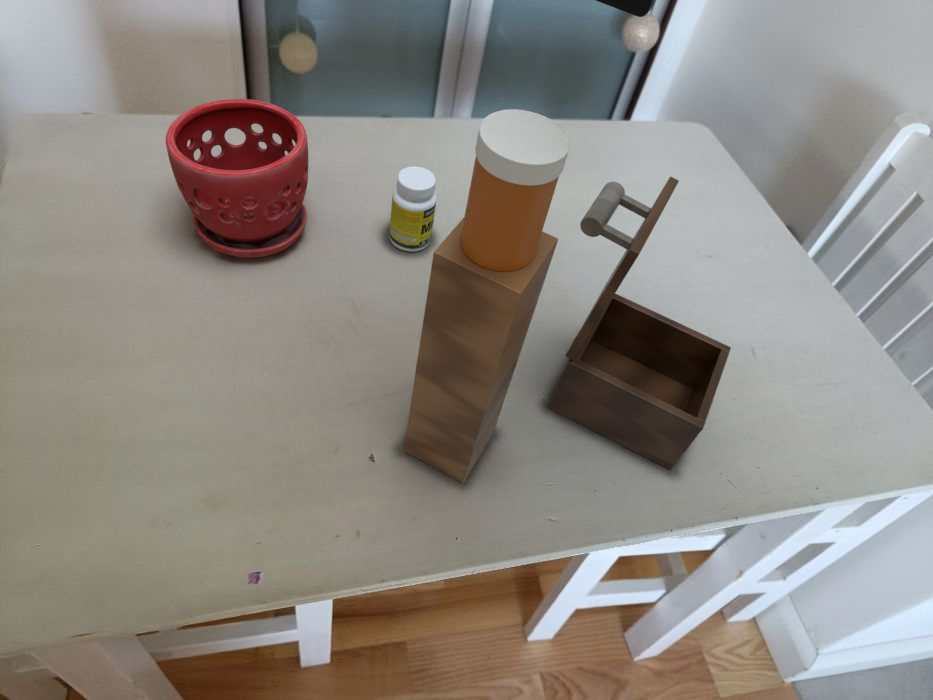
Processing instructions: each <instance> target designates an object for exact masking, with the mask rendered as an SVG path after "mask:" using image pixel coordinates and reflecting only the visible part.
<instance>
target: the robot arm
mask: <svg viewBox="0 0 933 700" xmlns="http://www.w3.org/2000/svg"><path fill="white" fill-rule="evenodd" d="M654 1H655V0H595V2H598V3H601V4H603V5H606V6H609V7H611V8H614V9H617V10H619V11H622V12H624V13H626V14H630V15H632V16H636V17H639V18H643V17H645V16H646V15H647V14H648V13H649V12H650V11H651V9H652V6H653V4H654Z"/></svg>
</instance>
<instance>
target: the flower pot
mask: <svg viewBox="0 0 933 700" xmlns="http://www.w3.org/2000/svg"><path fill="white" fill-rule="evenodd" d="M297 117H298V116H296V115H294V114H293V113H292V112H291V111H289V110H287V109H285V108H283V107H281V106H279V105H276V104H273V103H270V102H266V101H263V100H257V99H250V98H227V99H218V100H213V101H209V102H205V103H202V104H198V105H197V106H194V107H192V108H189V110H186V111H184V112H183V113H181V114H180V115H178V116H177V117H176V118H175V119H174V120H173V121H172V123H171V124H170V125H169V127H168V129H167V132H166V135H165V147H166V151H167V156H168V160H169V164H170V167H171V171H172V174H173V177H174V180H175V183H176V185H177V188H178V190H179V191H180V193H181V195H182V197H183V199H184V201H185V203H186V205H187V207H188V208H189V210H190V211H191V212H192V214H193V219H192V220H193V227H194V229H195V231H196V234H197V235H198V236H199V238H200V239H201V240H202V241H203V242H204V243H205V244H206V245H208V246H209V247H210V248H212V249H213V250H215V251H217V252H219V253H221V254H225V255H228V256H232V257H237V258H247V259H248V258H260V257H261V258H262V257H267V256H270V255H274V254H277V253H280V252H281V251H283V250H286V249H287V248H289V247H290V246H292V245H293V244H294V243H295V242H296V241H297V240H298V238H300V236H301V235H302V234H303V232H304V230H305V227H306V224H307V220H308V219H307V218H308V212H307V209H306V206H305V204H304V200H305V197H306V193H307V188H308V182H309V181H308V180H309V144H308V143H309V142H308V136H307V131H306V128H305V126H304V125H303V123H302V122H301V120H300V119H298V118H297ZM252 125H258V126H260V127H261V128H262V131H261V132H256V131H255V130H253V128H252ZM231 129H236V130H239V131H241V132H242V133H243V134H244V136H245V139H244V142H243V143H240V144H233V143H230V142H228V140H226V132H228V131H229V130H231ZM208 131H210V133H211V136H210V138H209V140H207V141H204V140H203V135H204V134H205V133H206V132H208ZM273 134H276V135H278V136H279V137H280V140H281V143H278V142H277V141H275V139H274V137H273ZM188 142H189V145H188ZM261 142H262V143H264V144H265V146H266V148H262V147H261V146H260V144H259V143H261ZM293 142H294V143H295V145H294V143H293ZM216 146H220V150H221V152H220V153H219V154H218V155H215V156H214V155H213V154H212V150H213V148H214V147H216ZM198 150H199V153H200V154H199V157H198V158H197V159H195V152H196V151H198ZM286 152H287V154H286Z"/></svg>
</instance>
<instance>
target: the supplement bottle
mask: <svg viewBox="0 0 933 700" xmlns="http://www.w3.org/2000/svg"><path fill="white" fill-rule="evenodd" d="M436 182H437V179H436V175H435V174H434V173H433V172H432V171H431V170H430V169H427V168H425V167H422V166H407V167H404V168H403V169H401V170H400V171H399V172H398V174H397V180H396V185H395V187H394V189H393V191H392V196H391V198H392V199H391V209H390V210H391V211H390V219H389V229H388V236H389V241H390V242H391V244H392V245H393V246H394V247H396V249H399V250H402V251H403V252H404V251H405V252H419V251H422V250H424V249H426V248H427V247H428V246H429V245H430V242H431V239H432V232H433V226H434V222H435V221H434V220H435V215H436V214H435V213H436V207H437V199H438V198H437V193H436V184H437V183H436Z"/></svg>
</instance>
